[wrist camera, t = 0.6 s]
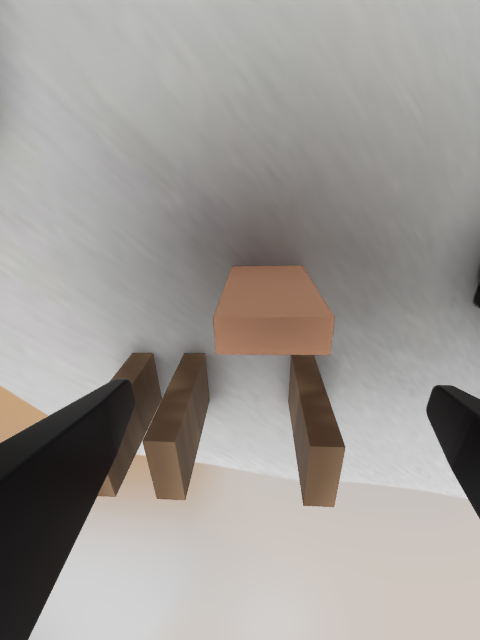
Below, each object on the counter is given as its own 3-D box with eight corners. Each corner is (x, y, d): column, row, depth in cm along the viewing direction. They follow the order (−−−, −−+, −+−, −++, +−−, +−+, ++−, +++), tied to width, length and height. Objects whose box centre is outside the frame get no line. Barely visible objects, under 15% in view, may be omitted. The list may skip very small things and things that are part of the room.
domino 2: (205, 353, 23) (174, 442, 15) (209, 400, 25) (185, 500, 17) (184, 353, 23) (142, 441, 15) (190, 399, 25) (156, 498, 17)
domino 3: (232, 266, 19) (213, 317, 11) (302, 265, 19) (334, 317, 11) (233, 290, 20) (215, 354, 12) (300, 289, 20) (330, 355, 12)
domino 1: (153, 353, 23) (95, 439, 15) (161, 399, 25) (115, 496, 17) (132, 353, 23) (64, 438, 15) (143, 398, 25) (88, 495, 17)
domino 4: (313, 354, 22) (345, 447, 14) (308, 401, 24) (334, 507, 16) (291, 354, 22) (310, 446, 14) (288, 401, 24) (303, 505, 16)
